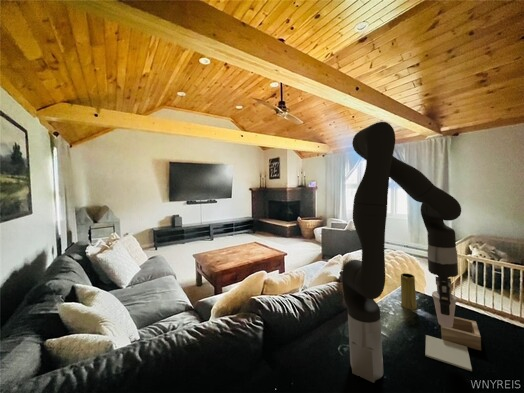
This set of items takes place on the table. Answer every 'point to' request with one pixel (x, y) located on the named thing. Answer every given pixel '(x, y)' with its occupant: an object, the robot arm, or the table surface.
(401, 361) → the table surface
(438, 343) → the mat
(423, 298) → the table surface
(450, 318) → the smoothie
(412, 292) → the vase
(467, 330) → the sleeve
